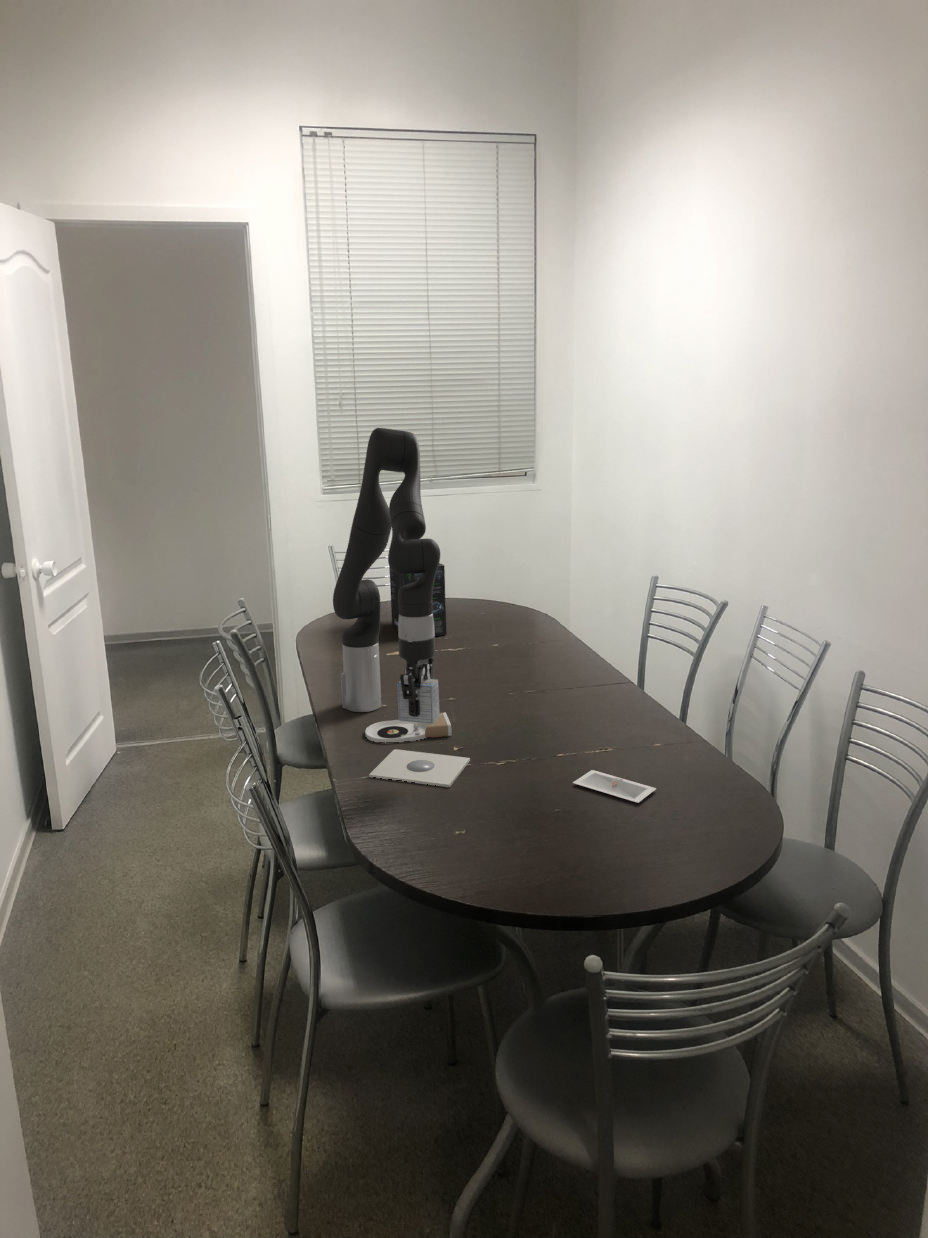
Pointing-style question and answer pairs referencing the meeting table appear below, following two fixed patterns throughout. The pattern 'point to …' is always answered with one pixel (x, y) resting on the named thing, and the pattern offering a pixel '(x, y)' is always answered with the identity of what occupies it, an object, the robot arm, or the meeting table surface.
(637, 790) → the touchpad
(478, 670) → the meeting table surface
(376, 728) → the record player
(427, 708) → the medicine box
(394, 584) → the headset box
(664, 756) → the meeting table surface
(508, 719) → the meeting table surface
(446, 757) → the white pad
